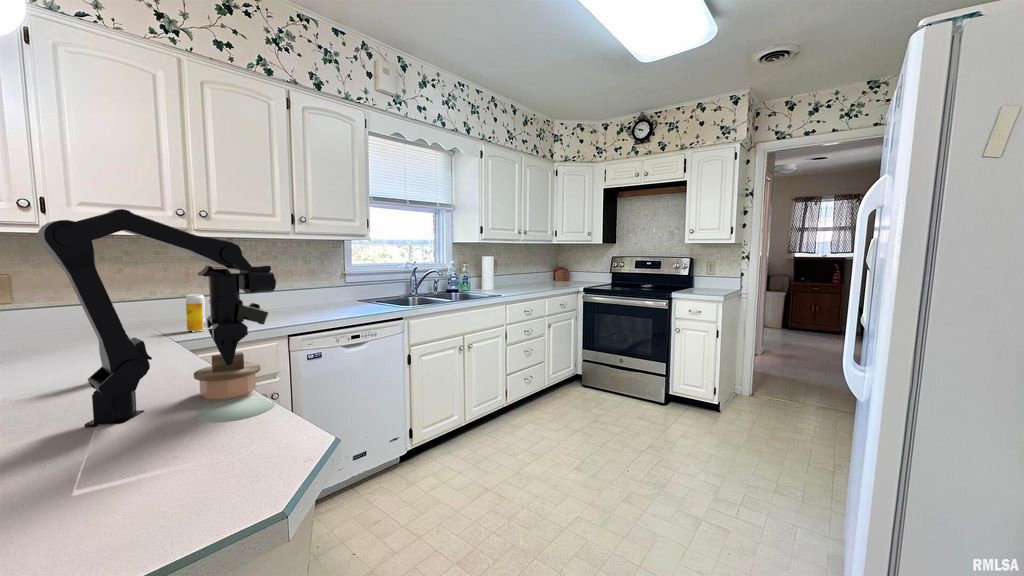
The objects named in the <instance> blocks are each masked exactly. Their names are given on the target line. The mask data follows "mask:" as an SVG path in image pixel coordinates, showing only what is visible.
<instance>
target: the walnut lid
mask: <svg viewBox="0 0 1024 576" xmlns="http://www.w3.org/2000/svg"><path fill="white" fill-rule="evenodd" d="M244 359H245V358H244V352H235V355H234V359H233V364H231V365H226V363H225V361H224V359H223V357H222V355H221V354H216V355H211V365H210V366H206V367H202V368H200V369H197V370H196V371H195V372H193V379H194V380H196V381H199V382H200V381H224V380H232V379H238V378H243V377H247V376H250V375H253V374H255V375H256V374H258V373H259V372H260V371H261V369H262V367H261V364H259V363H256V362H247V361H245V360H244Z"/></svg>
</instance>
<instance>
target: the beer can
mask: <svg viewBox="0 0 1024 576" xmlns="http://www.w3.org/2000/svg"><path fill="white" fill-rule="evenodd" d="M205 307H206V305H205V296H204V294H199V293H198V294H197V293H193V294H186V296H185V312H186V330H187V331H188V332H189V331H199V330H204V329H205V330H206V328H207V323H206V308H205ZM205 330H204V331H205Z"/></svg>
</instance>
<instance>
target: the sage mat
mask: <svg viewBox="0 0 1024 576" xmlns="http://www.w3.org/2000/svg"><path fill="white" fill-rule="evenodd" d="M265 398H266V397H259V396H258V397H257V396H254V397H241V398H234V399H229V400H224V401H221V402H217V403H214V404H211V405H208V406H206V407H204V408H202V409H201V410H199V411H198V412H197V413H196V415H195V418H196V420H198V421H201V422H205V423H229V422H235V421H237V422H238V421H241V420H246V419H247V420H248V419H251V418H255V417H256V416H259V415H263V414H265V413H267V412H269V411H271V410H272V409H273V408H274V407H275V406H276V401H275V400H274V399H272V398H268V397H267V398H266V399H265ZM267 399H268V400H270V401H271V402H272V403H271V402H270V401H268V400H267ZM274 403H275V404H274Z"/></svg>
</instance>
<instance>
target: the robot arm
mask: <svg viewBox="0 0 1024 576" xmlns="http://www.w3.org/2000/svg"><path fill="white" fill-rule="evenodd" d="M118 232H119V233H120V232H125V233H128V234H131V235H135V236H138V237H141V238H144V239H148V240H151V241H154V242H157V243H159V244H163V245H166V246H170V247H173V248H175V249H180V250H181V251H185V252H187V253H189V254H191V255H193V256H195V257H197V258H198V259H200V260H202V261H204V262H207V263H208V264H210V265H205V266H204V268H202V270H200V271H199V272H198V273H197V276H198V277H205V278H206V277H208V279H209V280H208V282H209V285H208V286H209V299H208V302H209V303H208V304H209V307H210V311H209V312H210V315H209V316H208V317H207V318H205V321H206V328H207V330H208V333H209V334H210V336H211V338H212V340H213V343H214V344H215V347H217V350H218V352H219V353H220V354H219V355H222V357H223V359H224V361H225V363H226V365H231V364H233V359H234V355H235V353H236V350H237V347H238V343H239V342H240V341H242V339H244V338H245V337H246V336H248V335H249V332H248V326H247V325H246V324H245V323H244V321H249V322H254V323H257V324H259V325H265V323H266V322H267V321H266V320H267V318H268V315H269V311H267V310H265V309H263V308H262V309H261V306H260V304H258V303H255V302H251V303H250V304H248V305H244V301H243V300H242V299H240V298H241V297H240V291H243V292H244V293H245V294H246V295H252V294H253V295H254V294H264V293H265V294H267V293H273V292H274V291H275V290H276V286H277V278H276V277H275V275H274V272H273V271H272V267H271V265H260V266H252V265H251V264H250V262H249V261H248V260H247V259H246V257H244V255H243V252H242V251H243V250H242V249H241V247H240V245H239V244H237V243H236V242H234V241H230V240H225V239H220V238H214V237H208V236H207V237H206V236H200V235H197V234H194V233H191V232H188V231H186V230H182V229H180V228H176V227H174V226H170V225H168V224H165V223H162V222H159V221H156V220H154V219H151V218H147V217H144V216H141V215H139V214H135V213H134V212H132V211H130V210H128V209H125V208H124V209H123V208H119V209H112V210H110V211H107V212H106V213H103V214H99V215H95V216H91V217H88V218H84V219H80V220H76V221H75V220H69V219H61V220H60V219H59V220H53V221H50V222H49V221H48V222H47V223H45V224H43V225H42V226H41V227H40V228H39V230H38V231H37V238H38V241H39V243H40V244H41V245H42V247H43V248H44V249H45V250H46V252H47V253H48V254H49V256H50V257H51V258H52V259H53V260H54V262H55V263H56V264H57V265H58V267H60V268H61V269H62V270H63V272H64V273H65V275H66V276H67V279H68V280H69V282H70V285H71V286H72V288H73V291H74V292H75V295H76V297H77V298H78V301H79V303H80V305H81V307H82V309H83V311H84V313H85V315H86V317H87V319H88V322H89V323H90V325H91V328H92V329H93V331H94V333H95V336H96V338H97V341H98V347H99V348H98V350H99V357H100V362H101V367H99V368H98V369H97V370H96V371H95V372H94V373H93V374H92V375H90V376H89V377H88V378H87V382H88V383H89V385H90V386H91V388H92V389H94V391H93V394H91V402H92V414H93V419H92V420H90V421H87V422H85V423H84V427H86V428H88V427H98V426H100V425H103V426H105V425H121V424H124V423H127V422H129V421H131V420H132V419H133V418H136V417H137V416H140V415H141V414H143V413H144V412H145V410H143V409H142V410H137V397H136V393H137V392H136V391H137V389H138V385H139V383H140V381H141V379H142V378H144V377H145V376H146V375H147V373H148V371H150V368H151V365H150V360H153V358H152V356H150V355H149V353H148V352H147V349H146V348H147V347H146V343H145V341H144V340H141V338H140V339H139V338H137V337H132V338H131V337H129V335H128V334H127V333H126V330H125V328H123V327H124V326H123V323H122V321H121V320H120V318H119V315H118V313H117V312H116V311H117V310H116V309H115V307H114V305H113V302H112V299H111V298H110V296H109V294H108V292H107V290H106V287H105V286H104V283H103V280H102V279H101V276H100V275H99V272H98V270H97V268H96V260H95V259H96V258H95V249H94V245H93V241H95V240H98V239H101V238H105V237H107V236H111V235H113V234H115V233H118ZM211 265H213V266H219V267H225V268H214V267H212V266H211ZM230 270H232V271H233V270H235V271H239V272H231V271H230Z"/></svg>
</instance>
